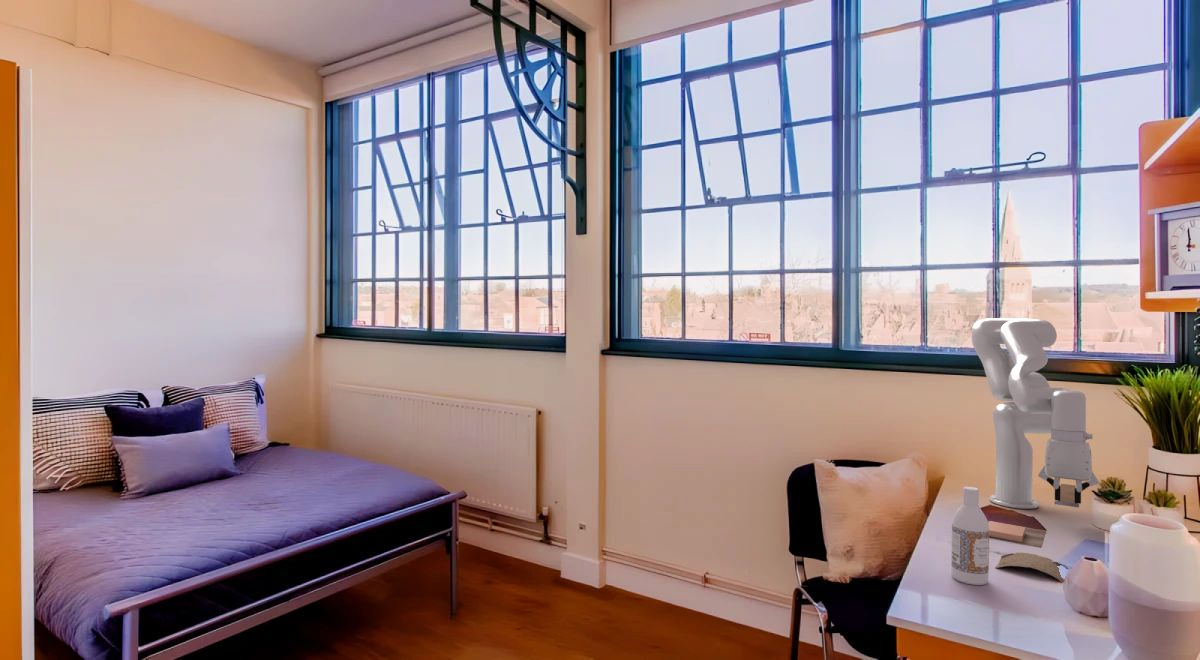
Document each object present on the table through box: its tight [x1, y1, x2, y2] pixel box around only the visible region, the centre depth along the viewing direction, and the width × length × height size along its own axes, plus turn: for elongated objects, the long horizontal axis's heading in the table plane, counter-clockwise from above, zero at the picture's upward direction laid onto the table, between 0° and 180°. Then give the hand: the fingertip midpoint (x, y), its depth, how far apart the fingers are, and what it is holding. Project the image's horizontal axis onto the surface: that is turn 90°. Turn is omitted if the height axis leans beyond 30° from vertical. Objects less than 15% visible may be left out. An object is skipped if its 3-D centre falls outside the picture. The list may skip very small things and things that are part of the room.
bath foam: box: [950, 486, 990, 586], centre depth 136 cm, size 7×7×20 cm
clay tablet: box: [995, 552, 1065, 583], centre depth 142 cm, size 14×10×3 cm
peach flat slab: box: [988, 520, 1026, 542], centre depth 161 cm, size 2×8×9 cm
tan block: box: [1054, 483, 1080, 508], centre depth 167 cm, size 12×5×5 cm, turn 141°
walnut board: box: [987, 520, 1047, 549], centre depth 162 cm, size 16×14×2 cm
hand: (1067, 503), depth 168 cm, fingers closed on tan block, 3 cm apart
